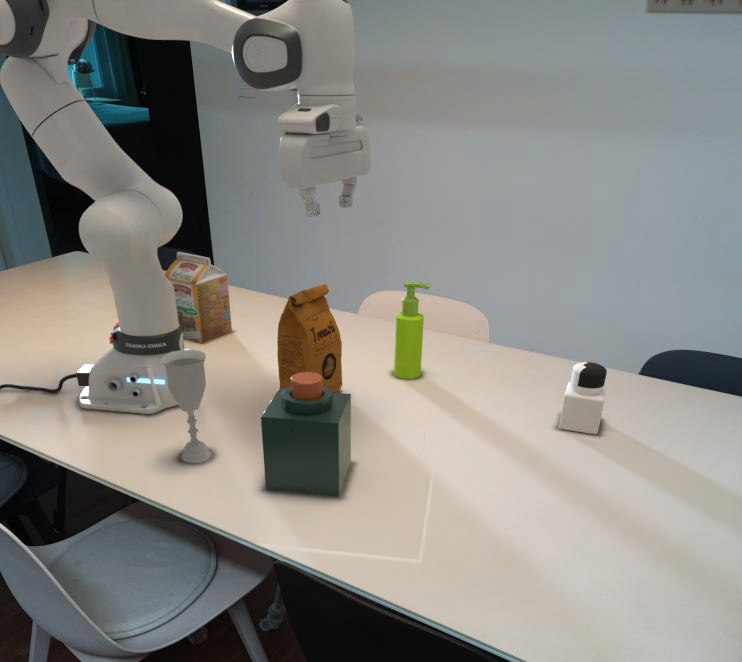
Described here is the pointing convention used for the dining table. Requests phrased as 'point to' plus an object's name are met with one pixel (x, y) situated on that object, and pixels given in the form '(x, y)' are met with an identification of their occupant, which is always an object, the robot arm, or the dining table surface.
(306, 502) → the dining table surface
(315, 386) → the red push button
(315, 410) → the push button housing
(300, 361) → the coffee package
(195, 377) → the chalice
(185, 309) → the milk carton
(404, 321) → the soap dispenser
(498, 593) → the dining table surface
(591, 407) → the medicine bottle
